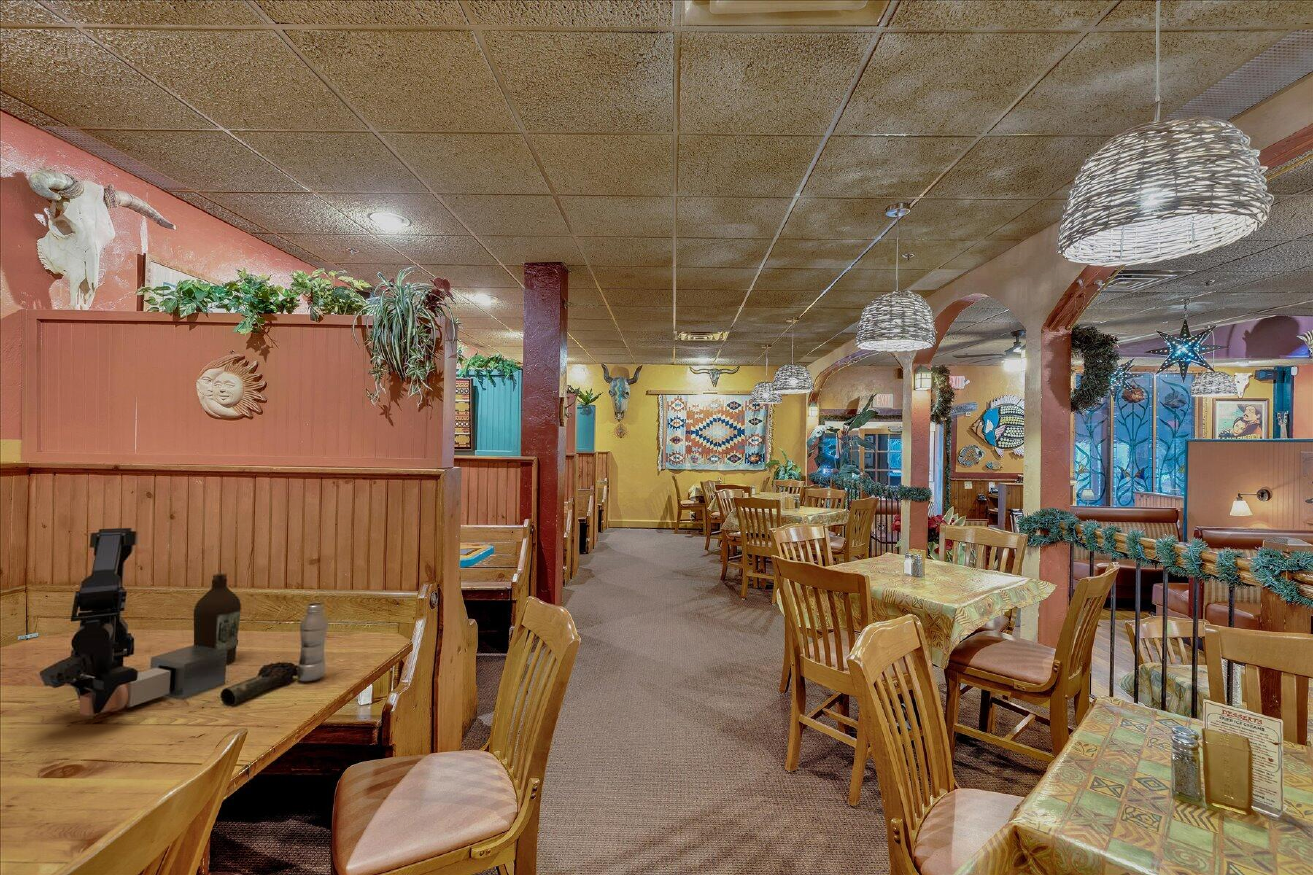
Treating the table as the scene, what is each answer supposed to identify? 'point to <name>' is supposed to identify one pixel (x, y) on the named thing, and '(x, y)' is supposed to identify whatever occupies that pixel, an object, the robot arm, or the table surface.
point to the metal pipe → (259, 682)
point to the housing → (192, 669)
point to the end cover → (132, 691)
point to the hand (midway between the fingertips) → (92, 711)
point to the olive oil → (218, 618)
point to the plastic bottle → (312, 643)
